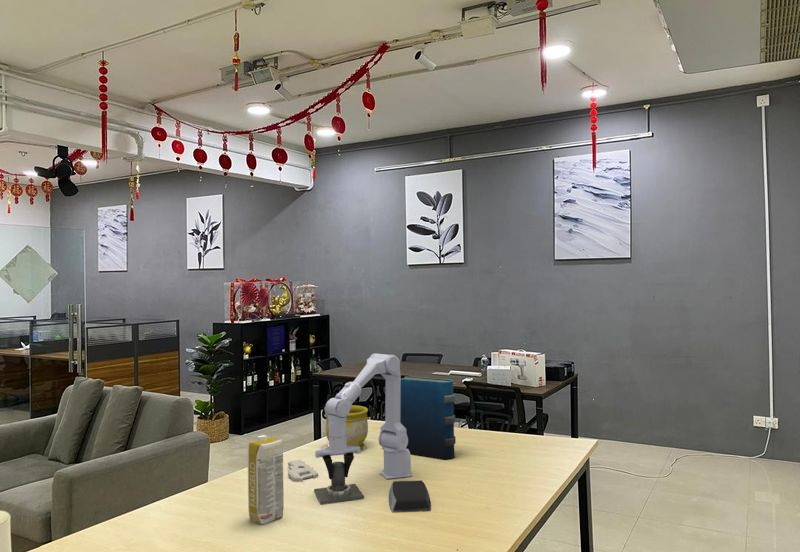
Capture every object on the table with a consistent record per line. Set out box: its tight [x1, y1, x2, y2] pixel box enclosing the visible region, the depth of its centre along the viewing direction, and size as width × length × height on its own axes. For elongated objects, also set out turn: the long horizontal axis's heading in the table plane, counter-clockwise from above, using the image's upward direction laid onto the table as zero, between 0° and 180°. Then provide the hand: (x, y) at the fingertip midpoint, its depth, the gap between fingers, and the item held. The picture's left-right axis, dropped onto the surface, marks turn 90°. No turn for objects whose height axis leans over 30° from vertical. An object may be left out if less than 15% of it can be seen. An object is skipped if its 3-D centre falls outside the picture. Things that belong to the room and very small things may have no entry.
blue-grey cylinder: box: [330, 461, 346, 486], centre depth 188 cm, size 4×4×7 cm
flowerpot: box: [324, 404, 369, 451], centre depth 242 cm, size 18×18×16 cm
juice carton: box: [247, 434, 285, 525], centre depth 170 cm, size 9×8×24 cm
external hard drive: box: [388, 479, 432, 513], centre depth 182 cm, size 13×19×4 cm
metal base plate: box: [313, 483, 365, 505], centre depth 187 cm, size 14×12×2 cm
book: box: [400, 375, 457, 461], centre depth 233 cm, size 24×9×30 cm, turn 58°
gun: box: [287, 459, 319, 483], centre depth 210 cm, size 18×4×10 cm
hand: (338, 477), depth 187 cm, fingers closed on blue-grey cylinder, 4 cm apart
